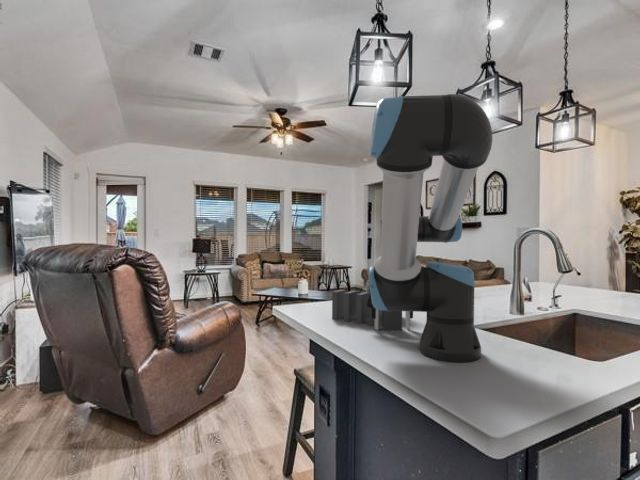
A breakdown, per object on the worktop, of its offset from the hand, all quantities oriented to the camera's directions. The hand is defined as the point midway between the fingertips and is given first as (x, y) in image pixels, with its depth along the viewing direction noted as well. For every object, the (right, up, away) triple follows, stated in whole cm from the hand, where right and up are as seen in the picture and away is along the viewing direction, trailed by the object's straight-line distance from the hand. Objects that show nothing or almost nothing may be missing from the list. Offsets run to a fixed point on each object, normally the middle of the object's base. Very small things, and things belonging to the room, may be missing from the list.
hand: (392, 328), depth 118 cm
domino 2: (-12, 0, +13) cm, 18 cm away
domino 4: (-4, 0, +7) cm, 8 cm away
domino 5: (0, 0, 0) cm, 0 cm away
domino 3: (-8, 0, +10) cm, 13 cm away
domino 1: (-16, 0, +16) cm, 23 cm away
